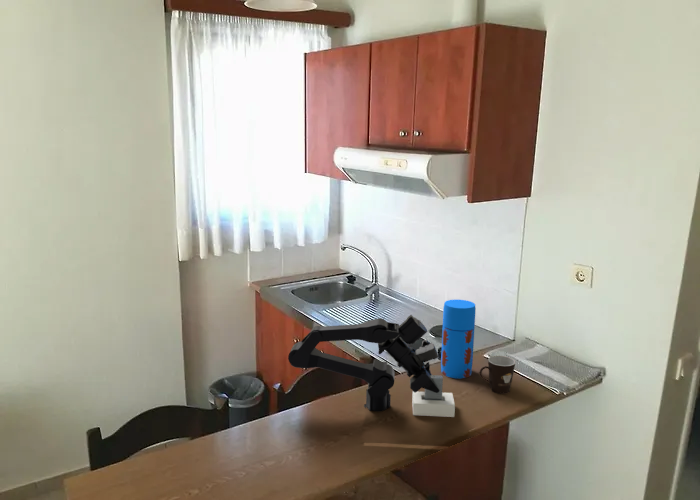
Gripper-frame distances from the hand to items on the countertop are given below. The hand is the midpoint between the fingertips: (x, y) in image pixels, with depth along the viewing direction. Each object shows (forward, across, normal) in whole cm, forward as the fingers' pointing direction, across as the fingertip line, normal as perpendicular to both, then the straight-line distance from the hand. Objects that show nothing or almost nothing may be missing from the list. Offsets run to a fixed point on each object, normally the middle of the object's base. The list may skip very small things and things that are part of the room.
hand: (438, 390), depth 167 cm
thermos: (+11, +30, -1) cm, 32 cm away
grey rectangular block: (+3, 0, +5) cm, 6 cm away
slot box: (+4, 0, +6) cm, 7 cm away
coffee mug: (+19, +18, -9) cm, 28 cm away
